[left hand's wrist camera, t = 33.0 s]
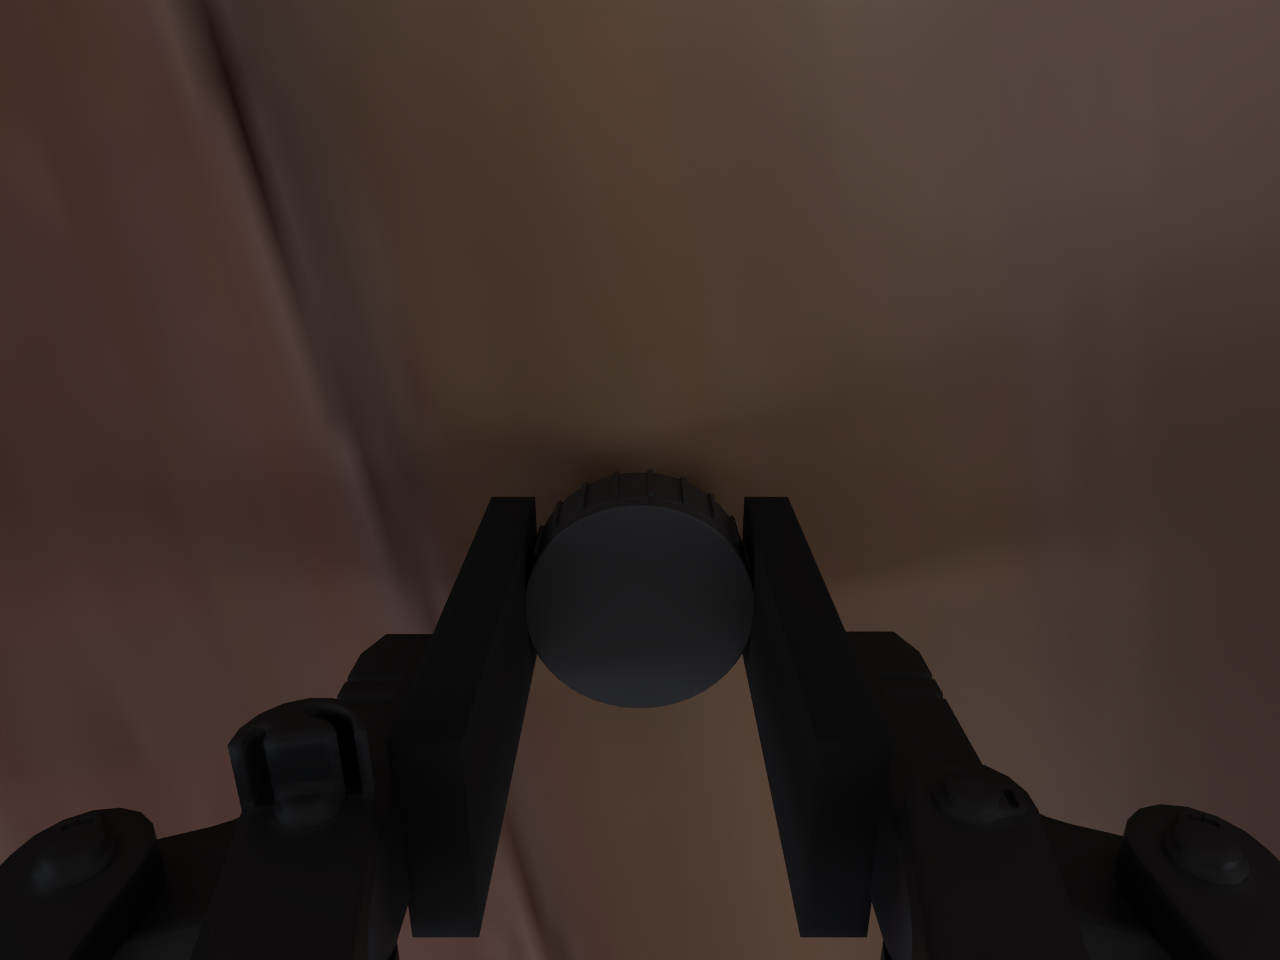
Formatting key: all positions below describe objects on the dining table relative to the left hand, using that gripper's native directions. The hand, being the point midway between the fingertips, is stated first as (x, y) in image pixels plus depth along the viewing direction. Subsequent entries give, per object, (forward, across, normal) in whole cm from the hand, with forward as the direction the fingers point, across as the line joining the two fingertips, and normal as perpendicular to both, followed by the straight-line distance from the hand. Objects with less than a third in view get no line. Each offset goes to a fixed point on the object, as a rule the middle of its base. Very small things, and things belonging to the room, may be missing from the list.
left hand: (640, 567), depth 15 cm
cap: (-1, 0, 0) cm, 1 cm away
